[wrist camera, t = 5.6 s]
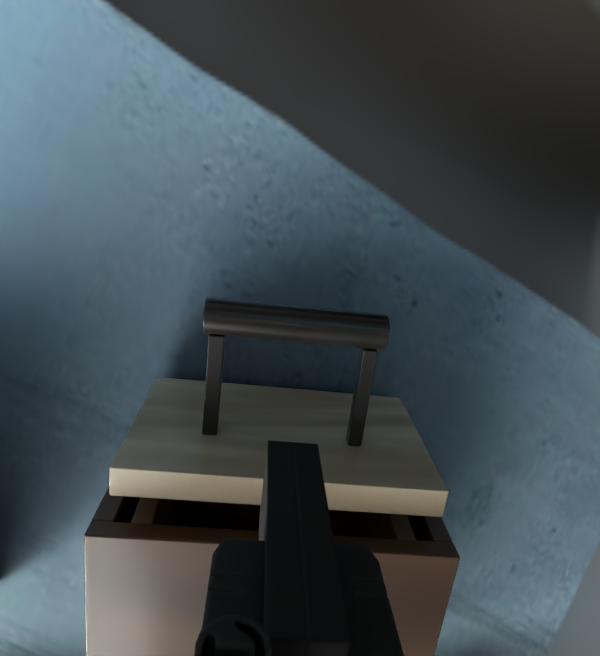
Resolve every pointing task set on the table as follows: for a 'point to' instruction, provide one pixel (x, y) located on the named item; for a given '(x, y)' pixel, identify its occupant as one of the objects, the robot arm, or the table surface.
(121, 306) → the table surface
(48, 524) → the table surface
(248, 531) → the cabinet
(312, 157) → the table surface
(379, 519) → the drawer
